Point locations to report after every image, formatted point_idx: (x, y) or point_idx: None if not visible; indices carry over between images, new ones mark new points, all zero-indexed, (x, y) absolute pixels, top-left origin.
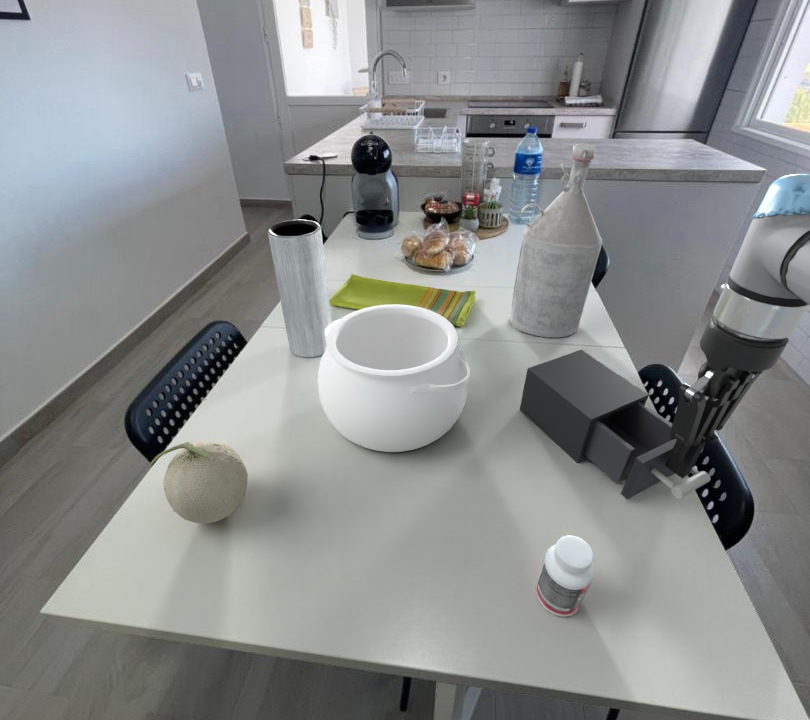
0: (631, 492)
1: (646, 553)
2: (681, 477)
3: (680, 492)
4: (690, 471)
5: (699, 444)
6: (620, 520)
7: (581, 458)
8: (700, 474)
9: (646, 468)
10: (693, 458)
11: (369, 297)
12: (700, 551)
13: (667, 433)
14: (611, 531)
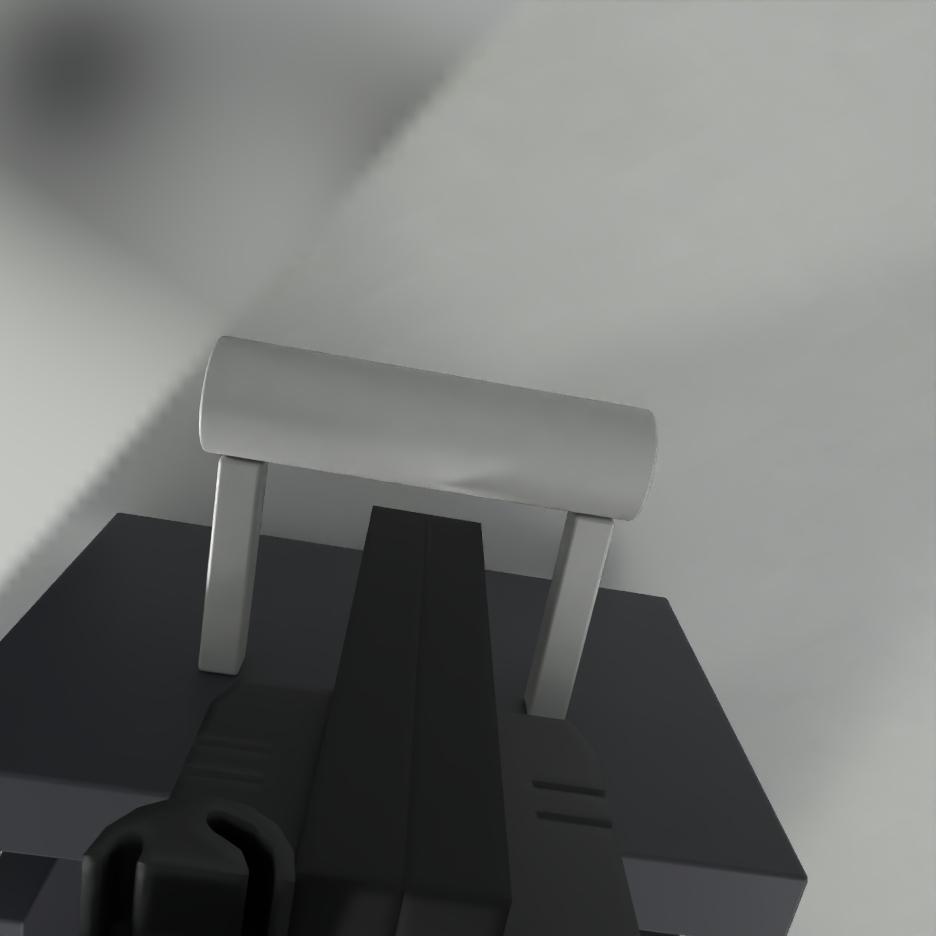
0: (670, 630)
1: (928, 300)
2: (480, 533)
3: (653, 448)
4: (375, 526)
5: (488, 902)
6: (803, 528)
7: None
8: (281, 438)
9: (675, 778)
10: (463, 676)
11: None
12: (644, 66)
13: (64, 882)
14: (923, 518)
